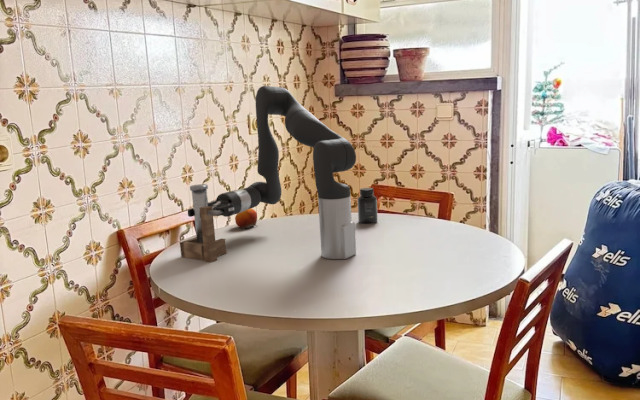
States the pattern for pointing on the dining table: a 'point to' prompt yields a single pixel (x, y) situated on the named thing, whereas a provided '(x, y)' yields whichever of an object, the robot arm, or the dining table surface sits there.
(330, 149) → the robot arm
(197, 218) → the pin
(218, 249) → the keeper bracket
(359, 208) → the supplement bottle
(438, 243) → the dining table surface
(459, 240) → the dining table surface
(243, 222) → the fruit
